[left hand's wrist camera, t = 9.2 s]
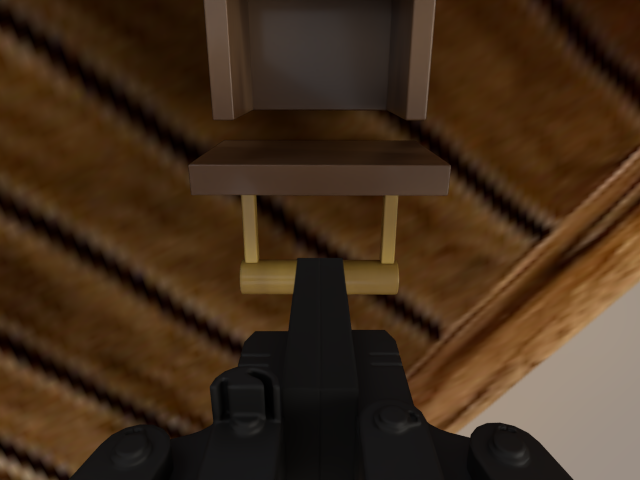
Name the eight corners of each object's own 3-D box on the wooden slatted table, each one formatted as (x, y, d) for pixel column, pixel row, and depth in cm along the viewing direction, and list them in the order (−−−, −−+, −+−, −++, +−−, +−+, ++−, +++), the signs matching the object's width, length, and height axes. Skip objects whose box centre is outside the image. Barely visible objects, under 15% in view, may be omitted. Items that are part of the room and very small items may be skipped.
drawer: (406, 257, 25) (435, 317, 19) (232, 257, 25) (203, 317, 19) (442, -216, 18) (507, -368, 12) (197, -216, 18) (133, -369, 12)
